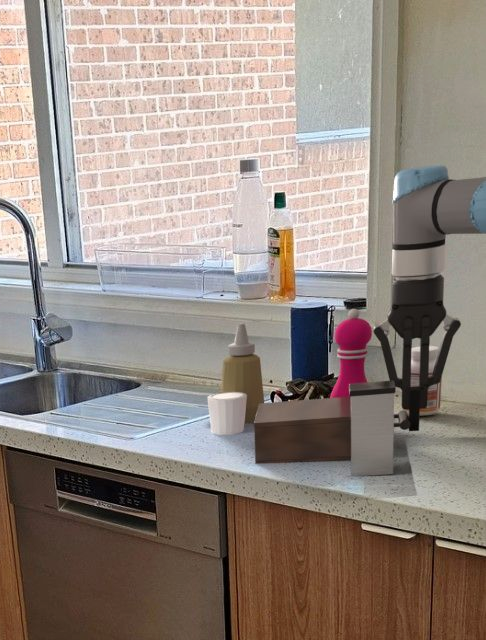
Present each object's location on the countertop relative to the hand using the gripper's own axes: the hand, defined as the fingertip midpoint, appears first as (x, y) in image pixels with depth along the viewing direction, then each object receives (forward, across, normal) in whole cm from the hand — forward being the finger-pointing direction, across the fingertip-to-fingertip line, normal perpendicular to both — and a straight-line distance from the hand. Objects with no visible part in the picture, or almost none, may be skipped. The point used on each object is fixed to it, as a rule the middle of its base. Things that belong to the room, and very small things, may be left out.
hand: (413, 428), depth 195 cm
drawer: (+2, +10, 0) cm, 10 cm away
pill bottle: (+3, -2, -23) cm, 23 cm away
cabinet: (+3, +16, 0) cm, 17 cm away
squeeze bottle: (+3, +29, -23) cm, 37 cm away
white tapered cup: (+3, +31, -15) cm, 34 cm away
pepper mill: (+3, +10, -15) cm, 18 cm away
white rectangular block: (+3, +7, +14) cm, 16 cm away
